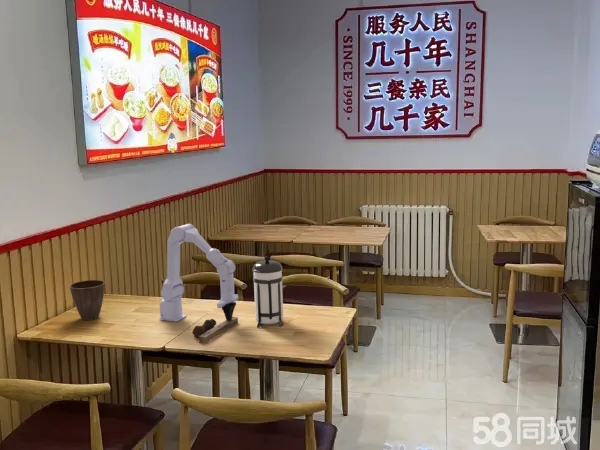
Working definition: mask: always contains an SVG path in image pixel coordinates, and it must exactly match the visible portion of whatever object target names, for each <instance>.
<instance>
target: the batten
mask: <svg viewBox="0 0 600 450" xmlns="http://www.w3.org/2000/svg"><path fill="white" fill-rule="evenodd" d="M238 319H239V318H238V316H237V317H236V316H232V319H231V320H226V319H225V320H223V321H222V322H220V323H219V324H216V325H215V326H214V328H212V329H210V330H208V331H207V332H205V333H204V334H202V335H201V336H199V338H198V343H199V344H207V343H208V342H211V341H212V340H213V339H215V338H216V337H218V336H219V335H221V334H223V333H224V332H226V331H227V330H228V329H231V328H232V327H233V326H235V325H237V324H238V322H239V320H238Z"/></svg>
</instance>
